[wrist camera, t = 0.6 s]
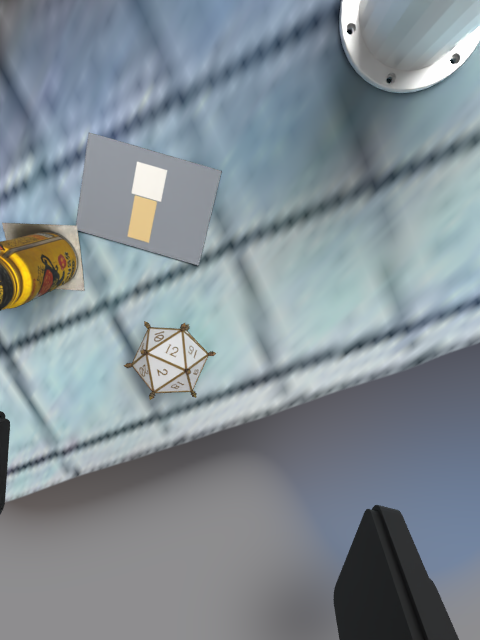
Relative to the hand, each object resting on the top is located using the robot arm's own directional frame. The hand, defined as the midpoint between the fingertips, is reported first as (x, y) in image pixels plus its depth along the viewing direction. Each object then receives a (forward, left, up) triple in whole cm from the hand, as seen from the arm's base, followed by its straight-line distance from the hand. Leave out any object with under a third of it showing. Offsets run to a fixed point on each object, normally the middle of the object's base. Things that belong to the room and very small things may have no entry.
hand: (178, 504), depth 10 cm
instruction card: (-4, -13, -34) cm, 37 cm away
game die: (+11, -6, -34) cm, 37 cm away
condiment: (+5, -23, -34) cm, 41 cm away
